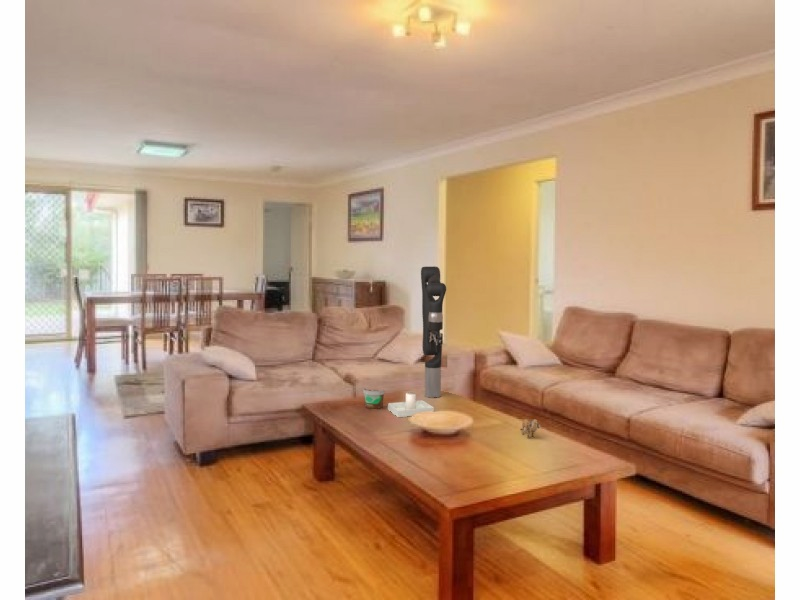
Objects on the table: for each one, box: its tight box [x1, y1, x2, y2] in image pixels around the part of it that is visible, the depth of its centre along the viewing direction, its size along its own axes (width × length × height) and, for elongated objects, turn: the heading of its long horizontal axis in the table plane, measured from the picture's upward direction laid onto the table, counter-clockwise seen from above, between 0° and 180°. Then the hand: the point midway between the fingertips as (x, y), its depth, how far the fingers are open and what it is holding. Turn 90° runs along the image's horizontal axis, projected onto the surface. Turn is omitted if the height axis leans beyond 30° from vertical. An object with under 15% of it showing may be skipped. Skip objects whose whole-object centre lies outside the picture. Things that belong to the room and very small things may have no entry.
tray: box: [387, 399, 435, 418], centre depth 289 cm, size 16×20×4 cm
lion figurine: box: [520, 418, 542, 440], centre depth 251 cm, size 15×5×9 cm, turn 17°
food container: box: [362, 387, 386, 410], centre depth 295 cm, size 12×6×10 cm, turn 68°
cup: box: [405, 391, 417, 410], centre depth 289 cm, size 5×5×9 cm
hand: (435, 350), depth 296 cm, fingers open, 8 cm apart
